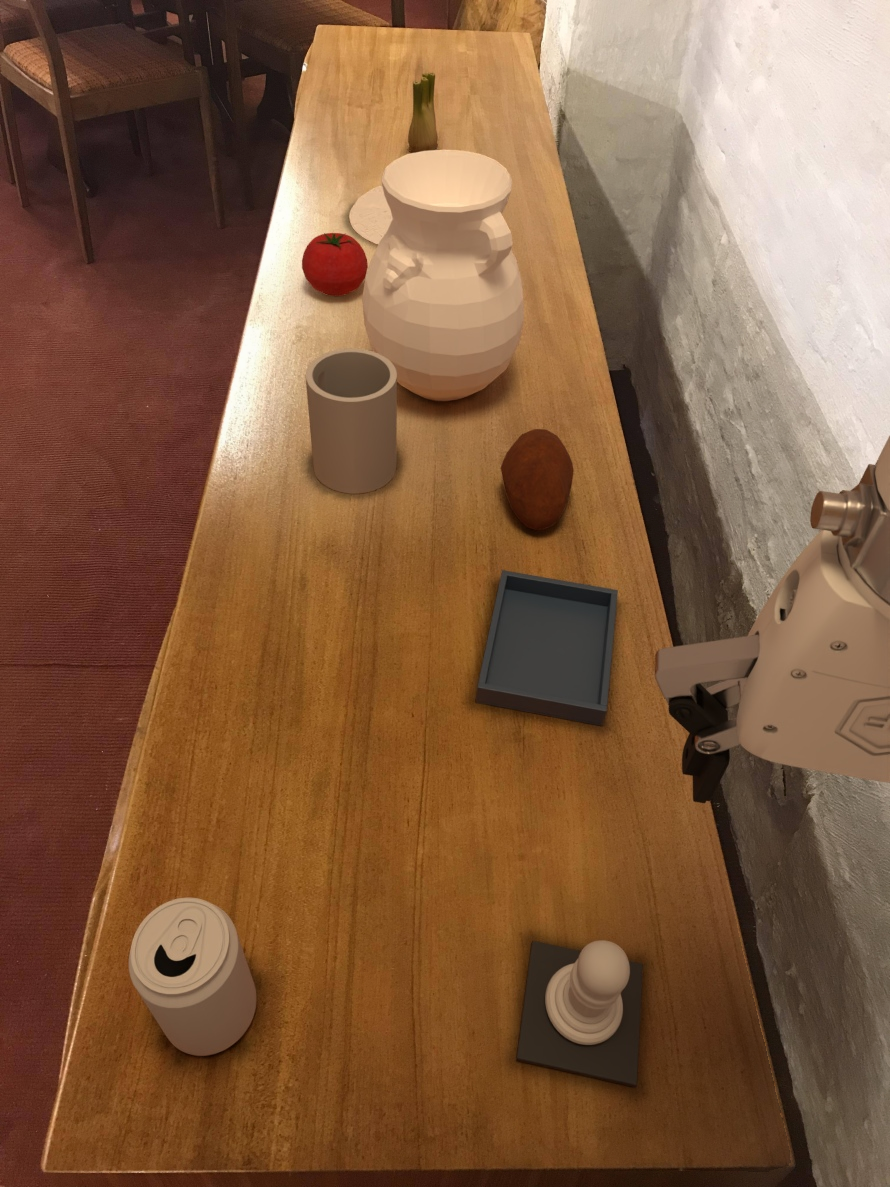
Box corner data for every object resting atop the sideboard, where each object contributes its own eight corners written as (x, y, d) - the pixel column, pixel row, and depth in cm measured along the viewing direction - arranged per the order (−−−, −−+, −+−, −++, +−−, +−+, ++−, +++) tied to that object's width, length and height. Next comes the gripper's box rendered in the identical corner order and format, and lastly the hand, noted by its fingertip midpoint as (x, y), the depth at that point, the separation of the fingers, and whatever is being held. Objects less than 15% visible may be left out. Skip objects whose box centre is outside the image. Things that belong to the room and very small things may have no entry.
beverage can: (146, 1044, 60) (102, 984, 51) (187, 950, 64) (153, 879, 55) (236, 1070, 59) (208, 1014, 50) (271, 973, 63) (251, 905, 54)
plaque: (424, 175, 147) (424, 166, 146) (507, 225, 138) (507, 216, 136) (323, 215, 139) (322, 205, 138) (404, 271, 129) (404, 262, 128)
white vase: (334, 372, 111) (321, 166, 92) (445, 321, 119) (455, 123, 101) (433, 448, 102) (442, 237, 83) (546, 388, 110) (577, 184, 92)
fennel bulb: (414, 160, 152) (416, 82, 143) (400, 148, 154) (400, 72, 145) (444, 153, 154) (447, 77, 145) (429, 142, 156) (431, 67, 147)
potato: (499, 537, 93) (506, 479, 87) (496, 464, 101) (502, 406, 95) (572, 540, 93) (584, 482, 87) (564, 467, 101) (574, 409, 95)
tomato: (381, 286, 125) (380, 230, 119) (342, 313, 119) (339, 257, 113) (330, 266, 127) (327, 211, 121) (290, 292, 122) (285, 236, 116)
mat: (635, 1087, 59) (637, 1085, 59) (515, 1060, 60) (516, 1058, 60) (641, 966, 65) (643, 963, 64) (531, 943, 65) (532, 940, 65)
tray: (602, 726, 78) (606, 711, 76) (475, 702, 79) (477, 687, 78) (613, 605, 87) (618, 589, 86) (500, 585, 89) (502, 569, 87)
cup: (395, 494, 97) (395, 403, 88) (310, 492, 96) (301, 400, 87) (397, 440, 103) (397, 349, 94) (317, 438, 102) (310, 346, 93)
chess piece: (619, 968, 64) (645, 919, 57) (623, 1050, 60) (652, 1008, 54) (543, 962, 64) (561, 912, 57) (544, 1043, 60) (563, 1000, 54)
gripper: (713, 583, 29) (617, 832, 42) (1284, 669, 27) (1004, 900, 40) (708, 439, 34) (623, 701, 47) (1191, 506, 32) (968, 758, 45)
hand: (800, 793), depth 43 cm, fingers open, 9 cm apart
